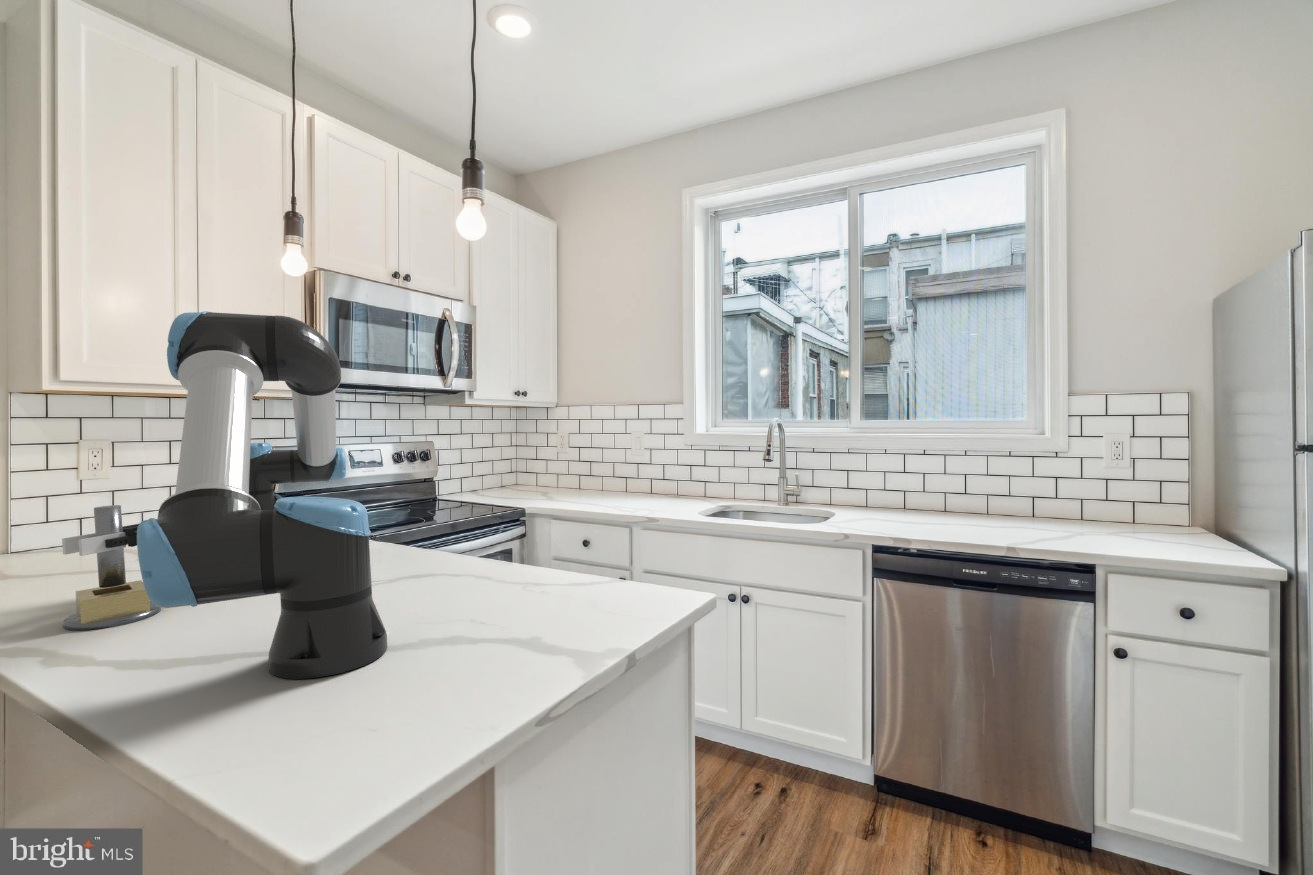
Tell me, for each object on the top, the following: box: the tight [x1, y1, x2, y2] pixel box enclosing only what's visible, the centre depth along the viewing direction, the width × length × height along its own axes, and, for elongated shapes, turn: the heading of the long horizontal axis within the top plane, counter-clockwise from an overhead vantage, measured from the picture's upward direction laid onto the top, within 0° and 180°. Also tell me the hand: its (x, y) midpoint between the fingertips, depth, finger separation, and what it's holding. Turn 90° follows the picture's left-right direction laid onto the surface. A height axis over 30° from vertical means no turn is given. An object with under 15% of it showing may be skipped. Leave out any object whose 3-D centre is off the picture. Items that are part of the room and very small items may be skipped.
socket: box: [62, 580, 162, 632], centre depth 109 cm, size 13×13×5 cm
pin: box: [93, 504, 127, 588], centre depth 109 cm, size 4×4×14 cm
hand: (72, 547), depth 104 cm, fingers closed on pin, 4 cm apart
